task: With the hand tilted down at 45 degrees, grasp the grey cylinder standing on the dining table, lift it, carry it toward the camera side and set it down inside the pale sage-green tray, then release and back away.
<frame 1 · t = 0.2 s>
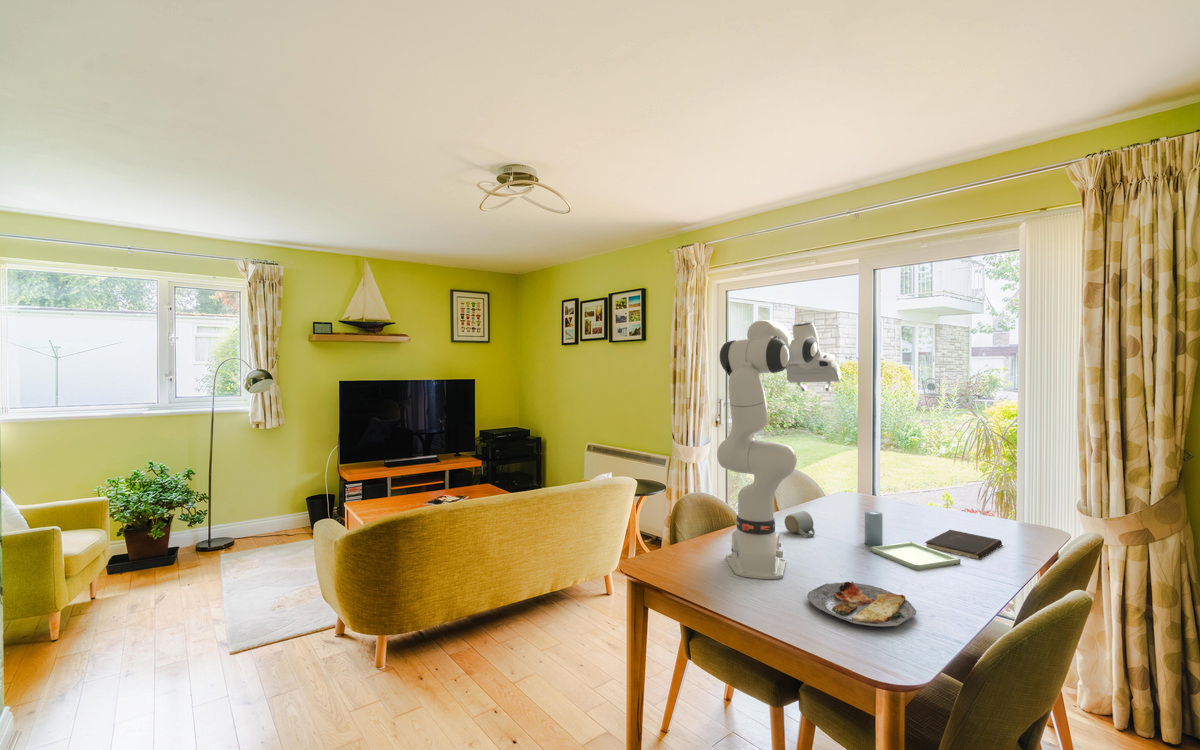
hand: (816, 390, 212), 53 cm above the table, tool tilted 25°, fingers open, 8 cm apart
hardcover book: (963, 548, 184), on the table
food plate: (860, 610, 136), on the table
ceramic mug: (801, 533, 200), on the table
tray: (913, 557, 173), on the table
grey cylinder: (873, 543, 187), on the table
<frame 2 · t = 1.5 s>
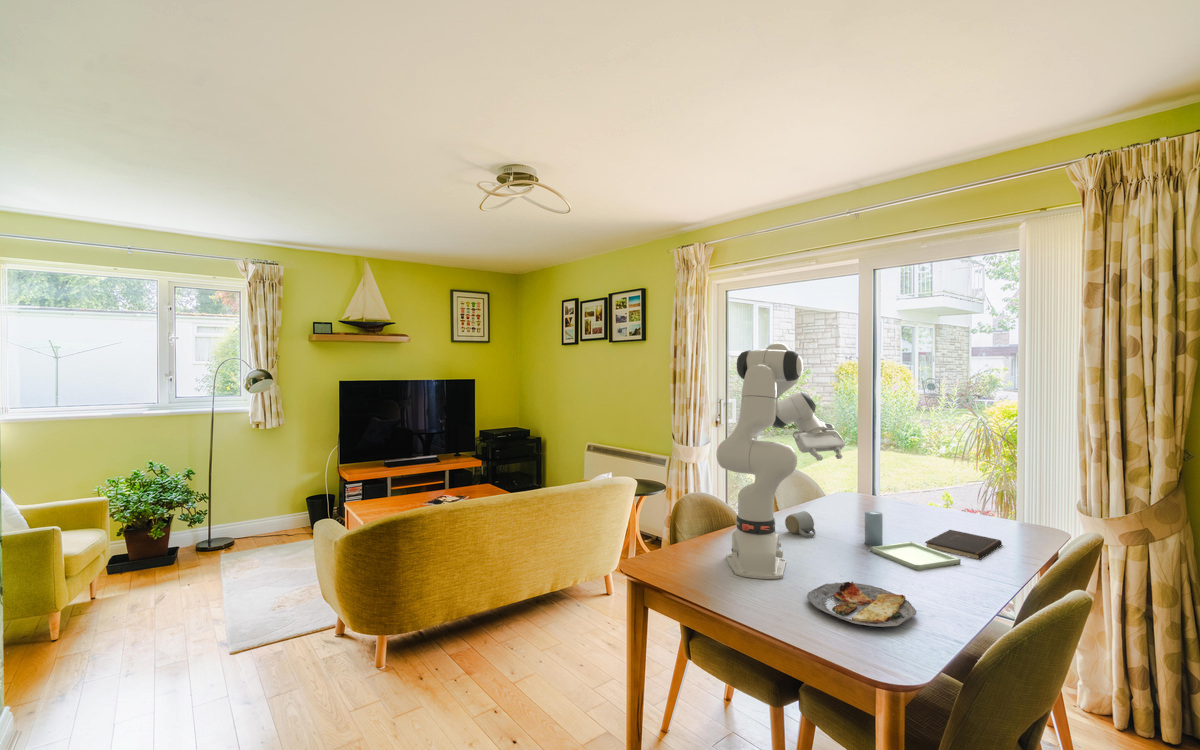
hand: (830, 458, 202), 28 cm above the table, tool tilted 45°, fingers open, 8 cm apart
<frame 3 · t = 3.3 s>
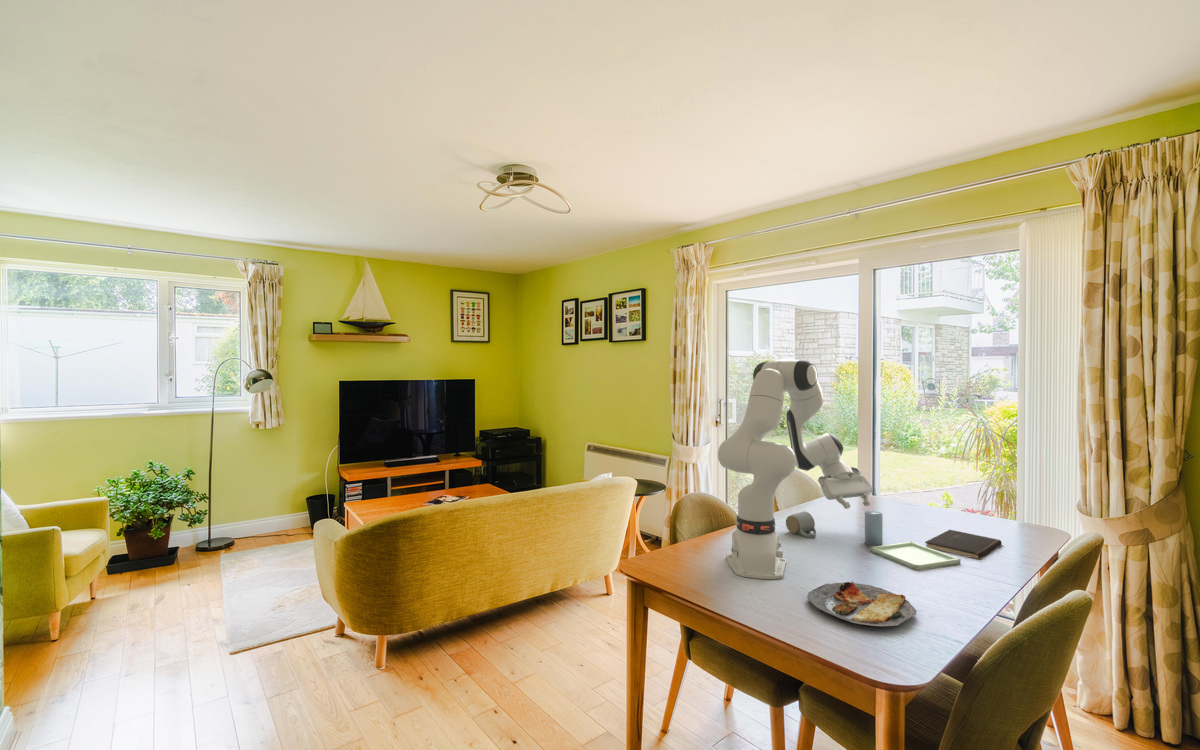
hand: (858, 506, 193), 12 cm above the table, tool tilted 45°, fingers open, 8 cm apart
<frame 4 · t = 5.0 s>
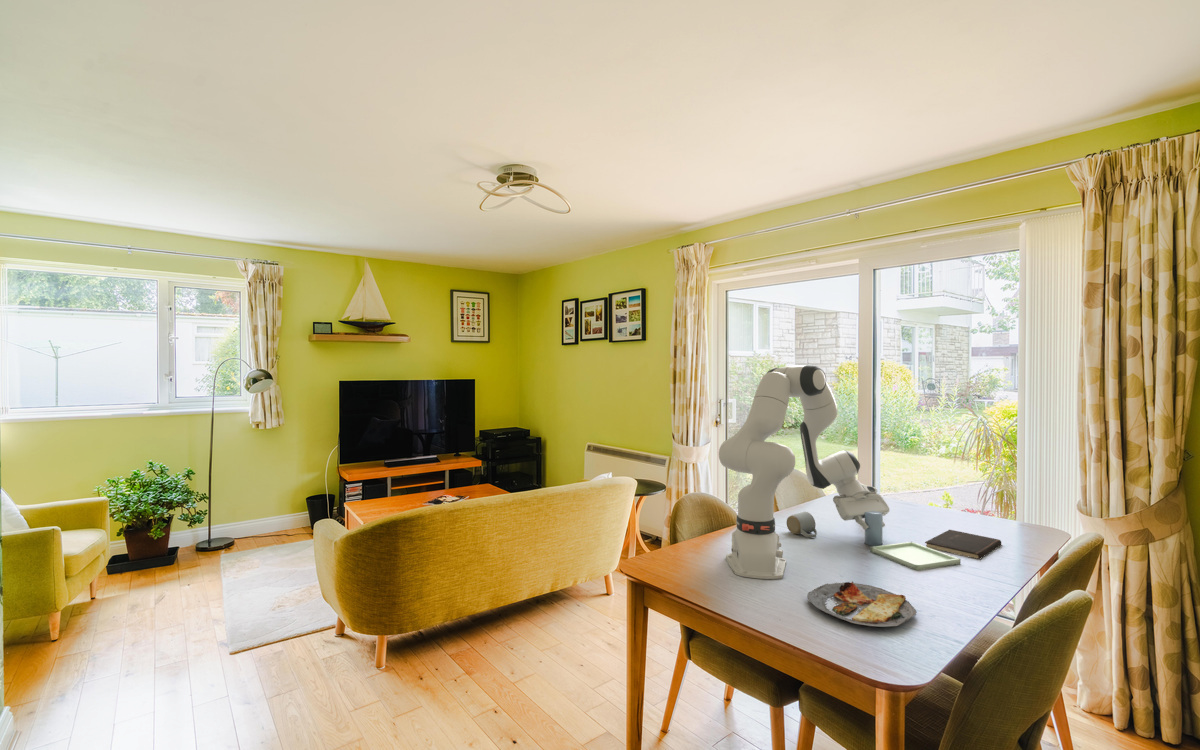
hand: (875, 527, 186), 6 cm above the table, tool tilted 45°, fingers closed on grey cylinder, 6 cm apart
grey cylinder: (873, 543, 187), on the table, touching gripper
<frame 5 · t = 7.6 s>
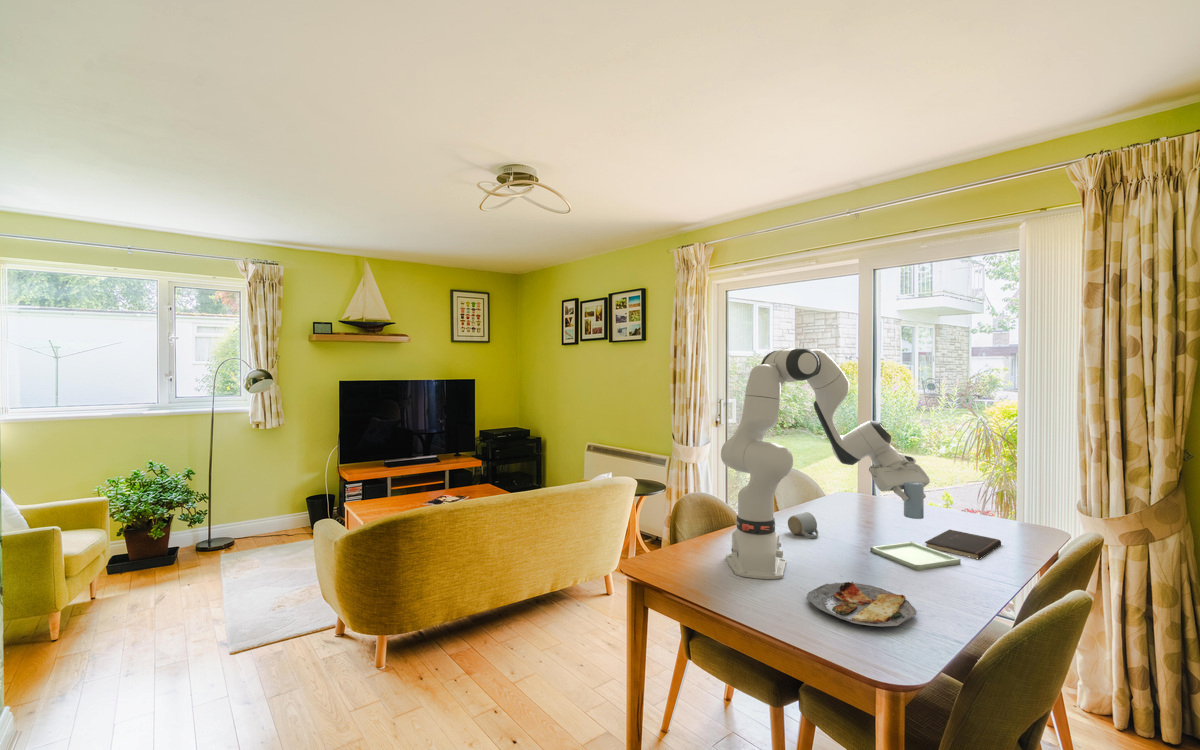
hand: (915, 499, 173), 19 cm above the table, tool tilted 45°, fingers closed on grey cylinder, 6 cm apart
grey cylinder: (913, 516, 173), point 13 cm above the table, touching gripper
when the fingers open (7 cm above the table, at t = 10.4 s): grey cylinder stays where it is, resting on tray.
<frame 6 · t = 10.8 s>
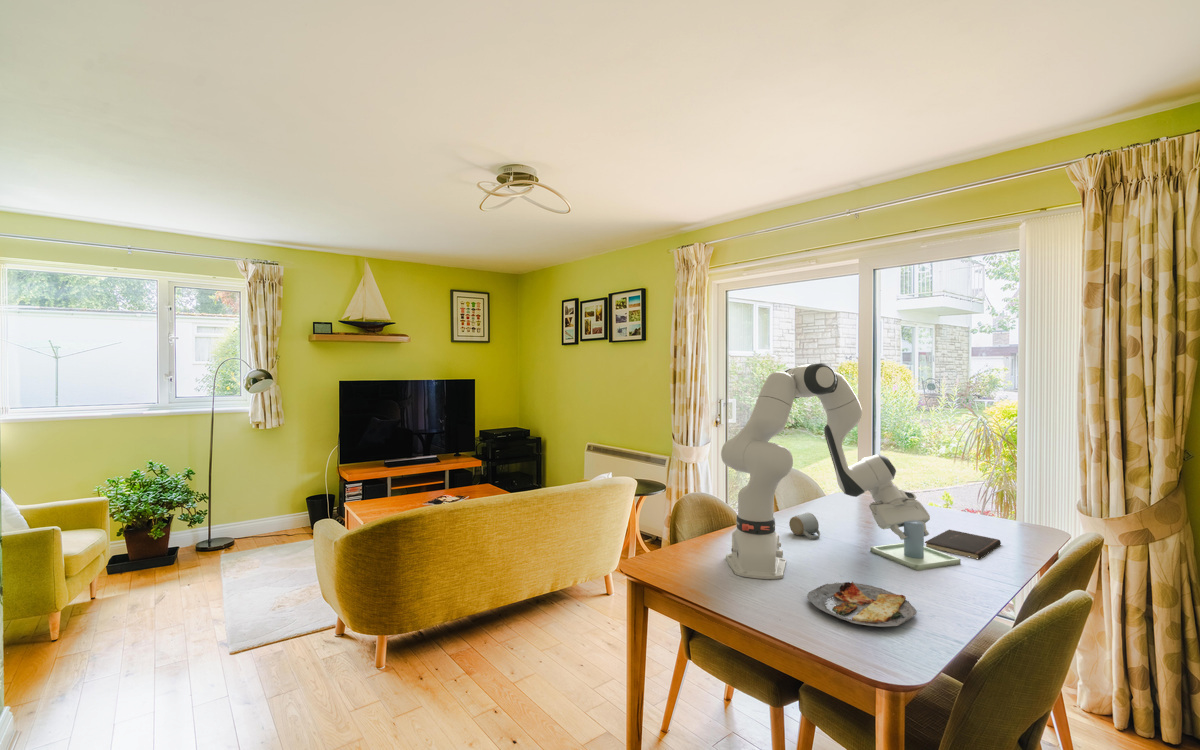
hand: (915, 537, 173), 7 cm above the table, tool tilted 45°, fingers open, 8 cm apart
grey cylinder: (913, 555, 173), point 1 cm above the table, touching tray
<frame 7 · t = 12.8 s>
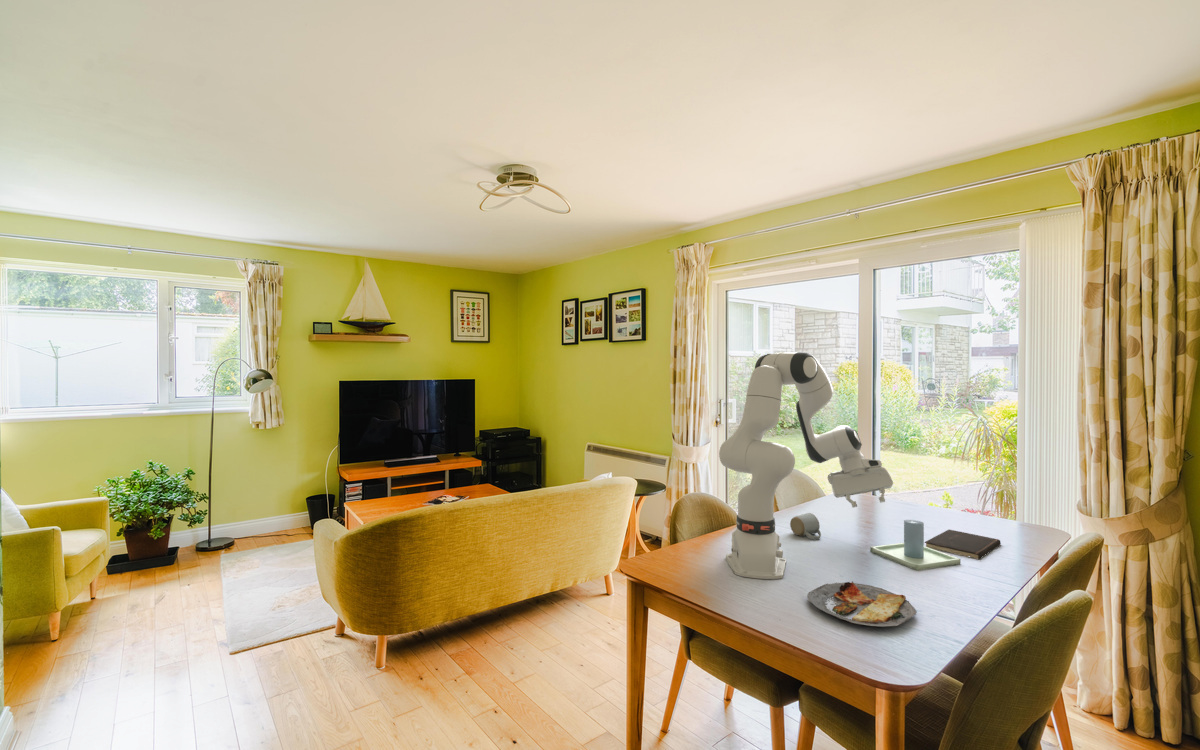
hand: (868, 504, 188), 14 cm above the table, tool tilted 35°, fingers open, 8 cm apart
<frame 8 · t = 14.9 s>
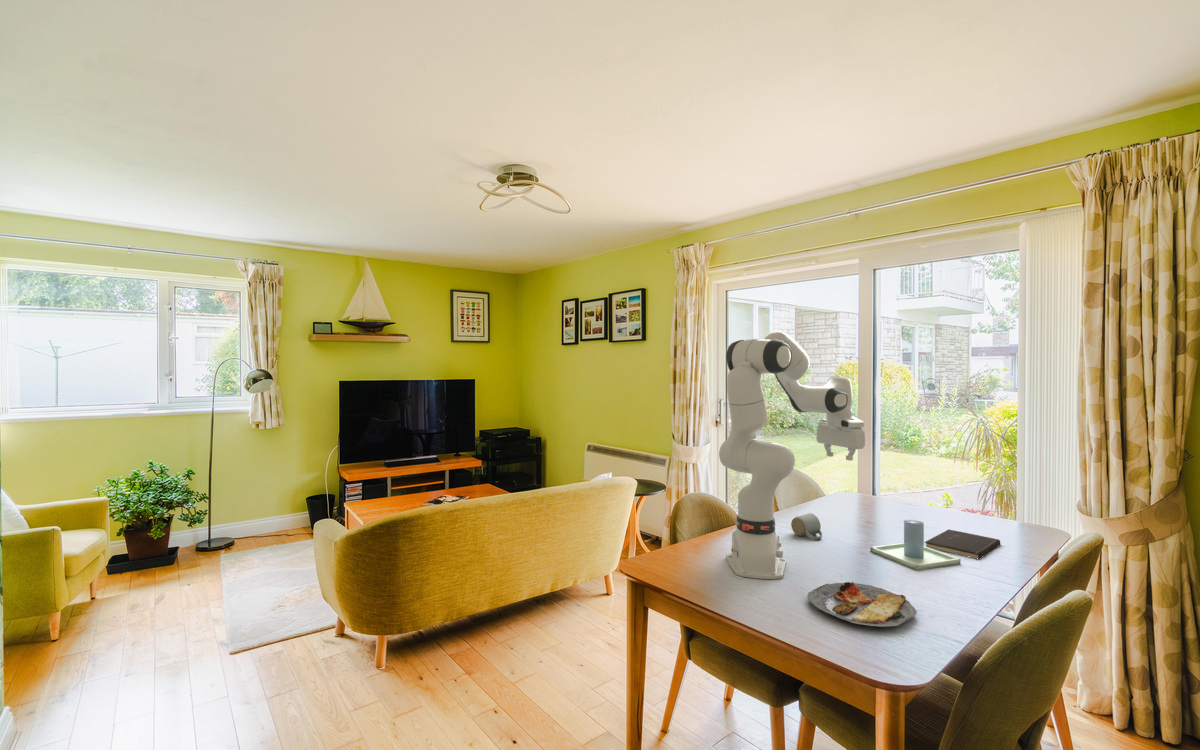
hand: (839, 458, 195), 29 cm above the table, tool pointing down, fingers open, 8 cm apart
at the end: grey cylinder 0.1 cm from the tray (horizontally); grey cylinder tilted 0°; the gripper is holding nothing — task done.
